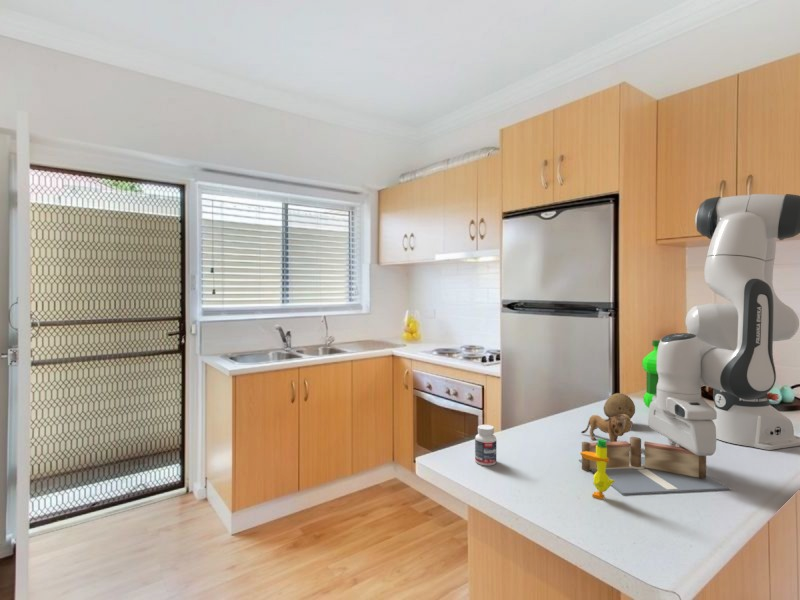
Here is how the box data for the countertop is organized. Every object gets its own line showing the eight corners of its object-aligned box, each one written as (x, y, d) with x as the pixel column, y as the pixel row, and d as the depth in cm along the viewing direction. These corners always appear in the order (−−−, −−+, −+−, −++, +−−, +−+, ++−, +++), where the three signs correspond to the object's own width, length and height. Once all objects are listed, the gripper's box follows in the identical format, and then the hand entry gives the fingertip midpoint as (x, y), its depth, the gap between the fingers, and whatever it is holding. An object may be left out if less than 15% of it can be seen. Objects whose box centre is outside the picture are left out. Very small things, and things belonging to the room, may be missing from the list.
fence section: (637, 465, 104) (637, 436, 104) (643, 469, 102) (643, 440, 102) (579, 467, 103) (579, 438, 103) (584, 471, 100) (584, 442, 100)
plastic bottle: (640, 411, 150) (640, 341, 150) (646, 405, 158) (646, 338, 158) (673, 416, 144) (673, 343, 143) (678, 410, 152) (678, 340, 151)
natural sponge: (637, 430, 130) (637, 397, 130) (605, 427, 133) (605, 395, 133) (632, 421, 139) (632, 391, 139) (602, 419, 142) (602, 389, 142)
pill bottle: (484, 467, 103) (483, 431, 103) (471, 460, 108) (470, 425, 108) (500, 463, 106) (500, 428, 106) (487, 456, 110) (487, 422, 110)
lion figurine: (635, 446, 116) (636, 414, 116) (626, 451, 113) (626, 417, 113) (585, 432, 128) (585, 403, 128) (575, 436, 125) (575, 406, 125)
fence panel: (644, 467, 101) (644, 440, 101) (644, 464, 102) (644, 438, 102) (706, 479, 94) (706, 450, 94) (705, 476, 96) (705, 448, 96)
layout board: (669, 457, 109) (669, 455, 109) (729, 489, 91) (729, 487, 91) (579, 461, 107) (579, 459, 107) (622, 495, 89) (622, 492, 89)
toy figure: (578, 494, 89) (578, 437, 89) (583, 488, 92) (583, 433, 92) (612, 504, 85) (613, 445, 85) (617, 498, 88) (617, 440, 87)
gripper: (641, 391, 111) (641, 444, 111) (692, 414, 91) (692, 478, 91) (665, 391, 111) (665, 444, 111) (722, 414, 90) (722, 478, 91)
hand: (678, 460), depth 101 cm, fingers closed
